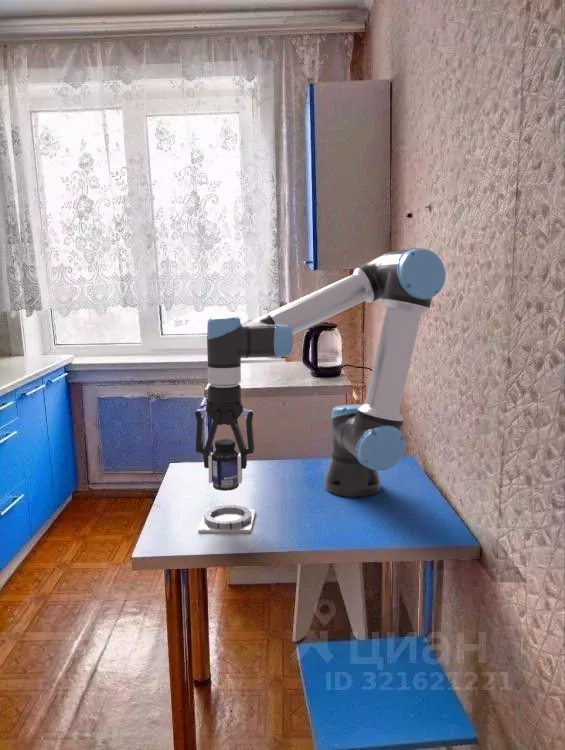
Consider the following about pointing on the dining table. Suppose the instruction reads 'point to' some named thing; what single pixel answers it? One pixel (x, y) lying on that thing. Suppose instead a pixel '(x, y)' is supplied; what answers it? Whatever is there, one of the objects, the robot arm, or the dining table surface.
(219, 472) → the pill bottle
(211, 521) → the hub plate
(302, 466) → the dining table surface
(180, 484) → the dining table surface
